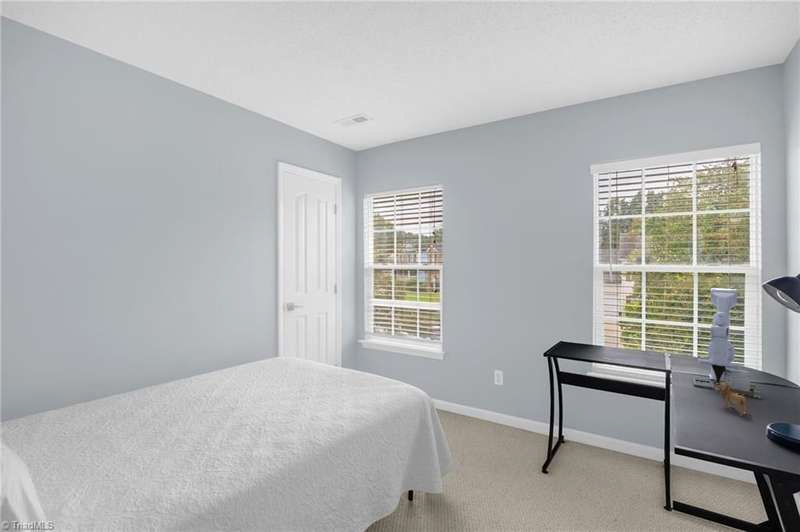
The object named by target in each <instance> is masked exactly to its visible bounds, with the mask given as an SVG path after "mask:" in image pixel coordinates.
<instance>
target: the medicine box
mask: <svg viewBox="0 0 800 532" xmlns="http://www.w3.org/2000/svg"><path fill="white" fill-rule="evenodd" d="M751 377H752V375H751V372H749V371H747V370H742V369H740V370H739V369H726V370H725V371H724V383H726V384H728V385H730V386H731V387H732V388H733V389H737V390H743V391H749V392H751V390H750V384H751V379H752V378H751Z"/></svg>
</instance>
